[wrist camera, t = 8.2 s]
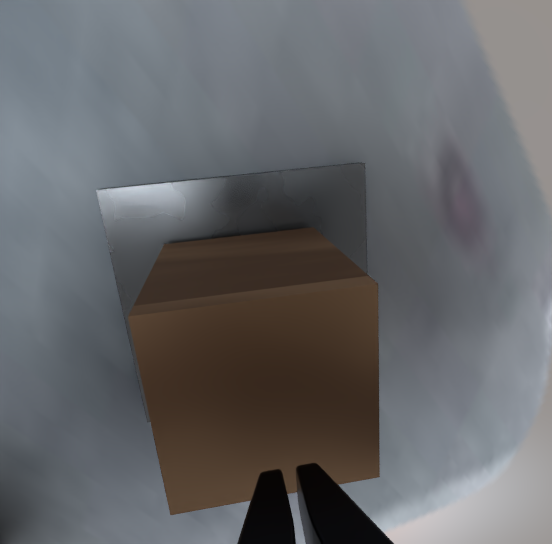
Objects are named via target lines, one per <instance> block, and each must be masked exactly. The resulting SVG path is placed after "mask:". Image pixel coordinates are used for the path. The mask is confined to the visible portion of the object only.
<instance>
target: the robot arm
mask: <svg viewBox="0 0 552 544" xmlns="http://www.w3.org/2000/svg"><path fill="white" fill-rule="evenodd" d="M296 483H297V494H298V504H299V510H300V516H301V521H302V526H303V531H304V536H305V542H306V544H394V543H393V542H392V541H391V540H390V539H389V538H388V537H387V536H386V535H385V534H384V533H383V532H382V531H381V530H380V529H379V528H378V527H377V525H376V524H375V523H374V522H373V521H372V520H371V519H370V518H369V517H368V516H367V515H366V514H365V513H364V512H363V511H362V510H361V509H360V508H359V507H358V506H357V504H356V503H355V502H354V501H353V500H352V499H351V498H350V497H349V496H348V495H347V494H346V493H345V492H344V491H343V490H342V489H341V488H340V487H339V486H338V485H337V483H336V482H335V481H334V480H333V479H332V478H331V477H330V476H329V475H328V474H327V473H326V472H325V471H324V470H323V469H322V468H321V467H320V466H319V465H318V464H317V463H309V464H303V465H298V466H297V467H296ZM237 544H296V541H295V531H294V523H293V518H292V513H291V508H290V504H289V500H288V495H287V491H286V486H285V482H284V477H283V473H282V471H281V470H280V469H275V470H269V471H264V472H261V473H260V475H259V477H258V480H257V483H256V487H255V490H254V493H253V496H252V499H251V502H250V505H249V509H248V512H247V515H246V518H245V521H244V524H243V528H242V531H241V534H240V537H239V540H238V543H237Z"/></svg>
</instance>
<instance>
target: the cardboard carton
mask: <svg viewBox="0 0 552 544" xmlns="http://www.w3.org/2000/svg"><path fill="white" fill-rule="evenodd" d="M128 320H129V324H130V329H131V333H132V338H133V343H134V347H135V352H136V357H137V361H138V366H139V371H140V375H141V380H142V385H143V389H144V394H145V399H146V403H147V408H148V412H149V417H150V422H151V426H152V431H153V436H154V440H155V445H156V450H157V454H158V459H159V464H160V468H161V473H162V477H163V482H164V487H165V491H166V496H167V501H168V505H169V510H170V515H174V514H179V513H185V512H190V511H196V510H201V509H207V508H212V507H218V506H223V505H229V504H234V503H240V502H245V501H251V499H252V496H253V493H254V490H255V487H256V483H257V480H258V477H259V475H260V473H261V472H264V471H269V470H275V469H280V470H281V471H282V473H283V477H284V482H285V486H286V491H287V494H289V493H294V492H297V483H296V467H297V466H298V465H303V464H309V463H317V464H318V465H319V466H320V467H321V468H322V469H323V470H324V471H325V472H326V473H327V474H328V475H329V476H330V477H331V478H332V479H333V480H334V481H335V482H336V483H337V485H338V484H344V483H349V482H355V481H360V480H366V479H371V478H377V477H380V476H379V343H378V283H377V282H375V281H374V280H373V279H372V278H371V277H370V276H369V275H367V274H366V273H365V272H364V271H363V270H362V269H361V268H359V267H358V266H357V265H356V264H355V263H354V262H353V261H351V260H350V259H349V258H348V257H347V256H346V255H345V254H343V253H342V252H341V251H340V250H339V249H338V248H337V247H336V246H334V245H333V244H332V243H331V242H330V241H329V240H328V239H326V238H325V237H324V236H323V235H322V234H321V233H320V232H318V231H317V230H316V229H315V228H314V227H311V228H302V229H294V230H285V231H276V232H267V233H258V234H250V235H241V236H232V237H223V238H215V239H206V240H197V241H188V242H179V243H171V244H164V245H163V247H162V249H161V251H160V253H159V255H158V257H157V259H156V261H155V263H154V265H153V267H152V269H151V271H150V273H149V275H148V277H147V279H146V281H145V283H144V285H143V287H142V289H141V291H140V293H139V295H138V297H137V299H136V301H135V303H134V305H133V307H132V309H131V311H130V313H129V315H128Z"/></svg>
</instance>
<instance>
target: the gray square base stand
mask: <svg viewBox="0 0 552 544" xmlns="http://www.w3.org/2000/svg"><path fill="white" fill-rule="evenodd" d="M96 192H97V197H98V201H99V206H100V210H101V215H102V219H103V224H104V228H105V233H106V237H107V242H108V246H109V251H110V255H111V260H112V264H113V269H114V273H115V278H116V282H117V287H118V292H119V296H120V301H121V305H122V310H123V314H124V319H125V323H126V328H127V332H128V337H129V341H130V346H131V350H132V355H133V359H134V364H135V368H136V373H137V377H138V382H139V386H140V391H141V395H142V400H143V404H144V409H145V413H146V418H147V422H150V417H149V412H148V408H147V403H146V399H145V394H144V389H143V385H142V380H141V375H140V371H139V366H138V361H137V357H136V352H135V347H134V343H133V338H132V333H131V329H130V324H129V320H128V315H129V313H130V311H131V309H132V307H133V305H134V303H135V301H136V299H137V297H138V295H139V293H140V291H141V289H142V287H143V285H144V283H145V281H146V279H147V277H148V275H149V273H150V271H151V269H152V267H153V265H154V263H155V261H156V259H157V257H158V255H159V253H160V251H161V249H162V247H163V245H164V244H171V243H179V242H188V241H197V240H206V239H215V238H223V237H232V236H241V235H250V234H258V233H267V232H276V231H285V230H294V229H302V228H311V227H314V228H315V229H316V230H317V231H318V232H320V233H321V234H322V235H323V236H324V237H325V238H326V239H328V240H329V241H330V242H331V243H332V244H333V245H334V246H336V247H337V248H338V249H339V250H340V251H341V252H342V253H343V254H345V255H346V256H347V257H348V258H349V259H350V260H351V261H353V262H354V263H355V264H356V265H357V266H358V267H359V268H361V269H362V270H363V271H364V272H365V273H366V274H367V242H366V189H365V163H362V162H361V163H351V164H342V165H332V166H322V167H312V168H302V169H292V170H282V171H272V172H262V173H253V174H243V175H233V176H223V177H213V178H203V179H193V180H183V181H173V182H163V183H154V184H144V185H134V186H124V187H114V188H104V189H98V190H96Z"/></svg>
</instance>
